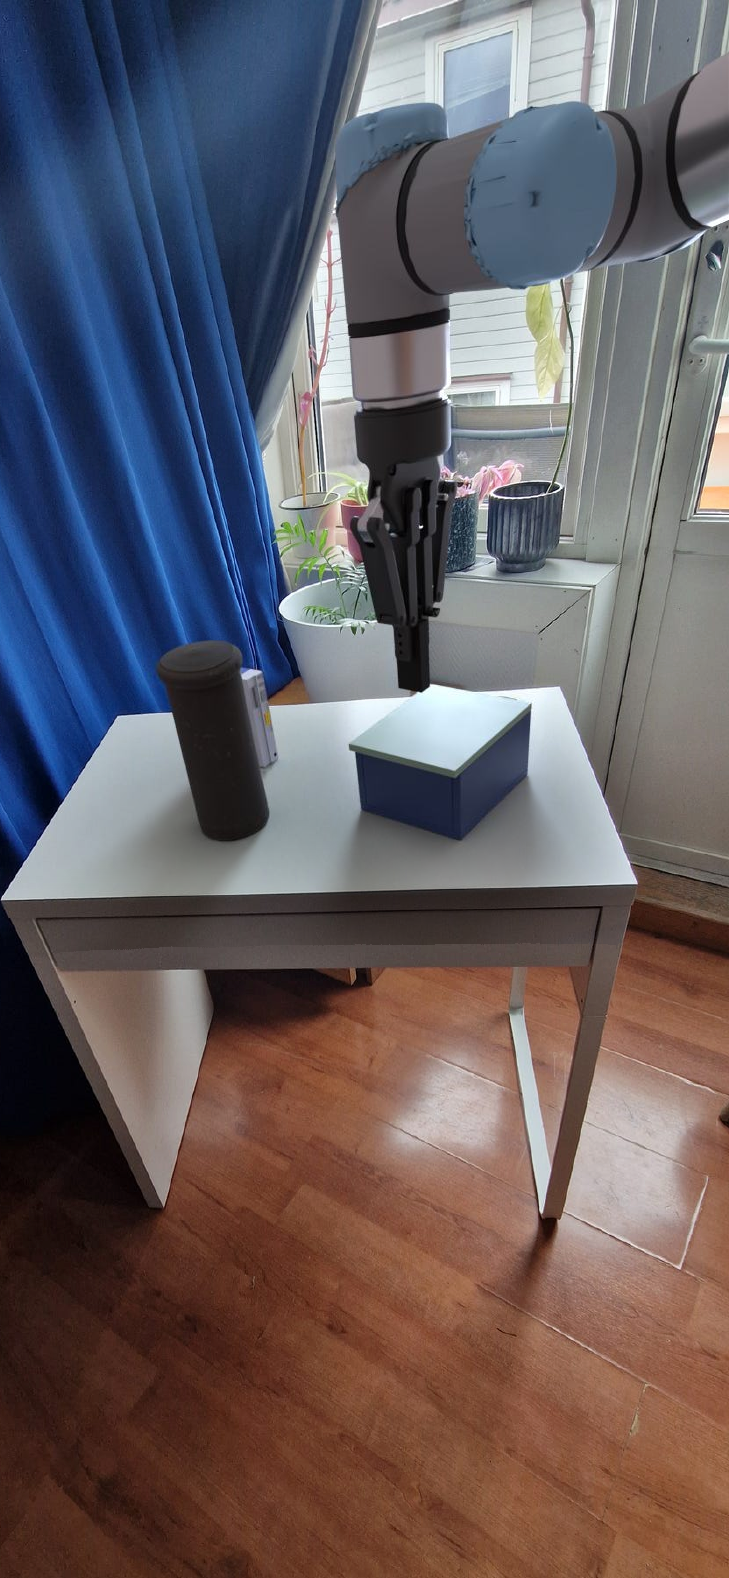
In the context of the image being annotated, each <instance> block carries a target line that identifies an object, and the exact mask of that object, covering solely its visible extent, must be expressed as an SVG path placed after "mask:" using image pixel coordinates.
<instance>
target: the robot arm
mask: <svg viewBox="0 0 729 1578" xmlns="http://www.w3.org/2000/svg"><path fill="white" fill-rule="evenodd" d="M448 121H449V120H448V116H447V112H446V110H445V108H443V106H442V105H440V104H438V103H436V102H414V103H407V104H401V105H395V106H391V107H390V106H389V107H385V108H382V109H380V110H378V111H374V112H372V113H371V112H369V113H365V114H361V115H359V116H356V117H354V118H352V119H350V120H349V121H347V122H346V123H345V124H344V125H343V126H342V127H341V128H340V130H339V132H338V134H337V137H336V140H335V145H334V155H335V183H336V184H335V186H336V200H335V207H334V211H335V218H336V220H337V227H338V238H339V239H338V240H339V248H340V249H339V251H340V260H341V262H340V263H341V271H342V282H343V283H342V284H343V293H344V294H343V295H344V305H345V318H346V325H347V336H348V345H349V359H350V373H351V374H350V375H351V389H352V398H353V399H354V400H355V401H357V402H359V403H360V405H361V406H359V407H357V409H356V410H355V413H354V414H353V421H354V422H353V423H354V436H355V447H356V457H357V459H358V461H359V463H361V464H364V465H365V466H366V468H367V469H368V471H369V472H368V474H369V475H368V476H369V477H368V483H367V491H366V496H367V497H366V498H367V501H368V504H367V506H366V508H365V510H364V512H363V514H362V515H361V516H358V515H357V516H356V515H354V516H353V517H351V518H350V521H349V528H350V529H349V530H350V532H351V534H352V535H353V537H354V539H355V541H356V543H357V544H358V546H359V551H360V555H361V559H362V563H363V568H364V571H365V577H366V582H367V584H368V589H369V594H370V598H371V602H372V606H373V610H374V616H375V619H376V622H377V624H380V625H388V626H391V627H392V629H393V644H394V656H395V657H394V658H395V659H396V674H397V688H398V689H399V690H406V691H412V692H415V693H418V692H420V693H422V692H424V691H425V690H426V689H428V688H429V687H430V684H431V675H430V673H431V672H430V669H431V668H430V618H438V617H439V615H440V613H441V607H434V605H435V603H441V602H442V600H443V598H444V592H445V591H444V590H445V581H446V572H447V571H446V570H447V562H448V552H449V551H448V550H449V542H450V532H451V522H452V512H453V508H454V504H455V501H456V497H457V493H458V482H457V480H448V479H447V480H445V479H444V478H443V477H442V467H441V464H440V460H439V457H440V456H442V455H444V454H445V453H447V452H448V451H449V449H450V448H451V444H452V415H451V414H452V409H451V408H452V405H451V404H452V403H451V402H452V401H451V399H449V396H447V395H446V394H444V390H446V389H447V388H449V387H450V385H451V383H452V363H451V361H452V359H451V309H450V298H451V297H450V295H453V294H457V293H468V292H470V293H471V292H481V291H483V292H484V291H492V290H501V289H509V290H515V291H519V290H520V291H522V290H523V291H524V290H526V289H528V288H529V287H537V286H543V285H547V284H549V283H551V282H554V281H559V280H562V279H566V278H568V277H570V276H571V275H574V274H579V273H582V272H583V273H584V272H588V271H592V270H594V269H599V268H605V267H609V266H615V265H621V264H626V263H632V262H638V263H646V262H647V263H648V262H652V261H655V260H657V259H660V258H663V257H666V256H670V255H671V254H673V253H676V252H677V251H679V250H683V249H685V248H687V247H689V246H690V245H692V244H694V242H695V241H697V240H698V239H699V238H701V236H703V235H704V234H705V233H706V231H707V230H709V229H711V228H713V227H715V226H717V225H719V224H722V223H724V222H726V221H729V51H728V52H726V53H724V54H722V55H721V56H719V57H717V58H716V59H715V60H713V61H711V62H710V63H708V64H706V65H705V66H704V67H703V68H702V69H701V70H699V71H698V72H696V73H694V74H692V75H690V76H688V77H687V78H685V79H683V80H682V81H680V82H678V83H677V84H675V85H674V86H672V87H670V88H668V89H667V90H665V91H663V92H662V93H660V94H658V95H657V96H656V97H654V98H652V99H650V100H648V101H646V102H644V103H642V104H640V105H637V106H635V107H627V108H617V109H607V110H605V109H603V110H597V111H595V109H594V108H592V107H591V105H590V104H589V103H586V102H582V101H576V100H571V101H565V102H560V103H553V104H548V105H544V106H533V105H530V106H528V107H527V108H523V109H520V110H518V111H515V113H514V114H513V115H512V116H510V117H507V118H505V119H501V120H499V121H496V122H493V123H490V124H488V125H484V126H482V127H479V128H476V129H473V130H470V131H467V132H464V133H462V134H459V135H457V136H452V137H449V122H448Z"/></svg>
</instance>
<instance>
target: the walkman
mask: <svg viewBox="0 0 729 1578" xmlns="http://www.w3.org/2000/svg"><path fill="white" fill-rule="evenodd" d="M240 671H241V675H242V681H243V686H244V692H245V697H246V703H247V707H248V712H249V717H250V722H251V727H252V732H253V737H254V742H255V746H256V751H257V756H258V761H259V766H260V768H266V767H267V766H268V765H270V764H273V763H274V762H276V761H277V760H278V759H279V755H278V749H277V743H276V738H275V732H274V726H273V721H272V715H271V710H270V704H269V701H268V696H267V690H266V685H265V679H264V674H263V671H262V670H259V669H253V668H252V669H251V668H247V667H242V666H241V669H240Z"/></svg>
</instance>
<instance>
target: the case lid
mask: <svg viewBox="0 0 729 1578" xmlns="http://www.w3.org/2000/svg"><path fill="white" fill-rule="evenodd" d="M532 706H533V703H532V702H528V701H524V700H520V699H519V700H518V699H513V698H508V697H502V696H497V695H492V694H487V693H481V692H476V691H470V690H466V689H460V688H455V687H450V686H444V685H438V684H433V683H430V687H429V688H428V689H426V690H425V691H424V692H422V693H420V692H415V694H413V695H412V696H411V697H409V698H408V699H406V700H404V702H403V703H402V704H400V705H399V706H397V707H396V708H395V709H393V710H391V712H389V713H387V714H386V715H385V716H384V717H383V718H381V719H380V720H378V721H377V722H375V723H374V724H373V725H372V726H370V727H369V728H367V729H366V730H365V731H363V733H361V734H360V735H358V736H357V737H355V738H354V739H353V740H352V741H350V742H349V743H348V750H349V751H350V752H354V753H355V752H358V753H361V754H365V755H369V756H373V757H377V758H381V759H384V760H388V761H392V762H396V763H400V764H403V765H407V766H411V767H415V768H419V769H422V770H426V771H430V772H434V773H438V774H441V775H445V776H449V777H453V778H456V777H457V776H458V775H459V774H460V773H461V772H463V771H464V770H465V769H466V768H467V767H468V766H469V765H470V764H471V763H473V762H474V761H475V760H476V759H477V758H478V757H479V756H480V755H481V754H483V753H484V752H485V751H486V750H487V749H488V748H489V747H490V746H491V745H493V744H494V743H495V742H496V741H497V740H498V739H499V738H500V737H502V736H503V735H504V734H505V733H506V732H507V731H508V730H509V729H510V728H512V727H513V726H514V725H515V724H516V723H517V722H518V721H519V720H520V719H522V718H523V717H524V716H525V715H526V714H527V713H528V712H529V711H530V710H531V711H532V710H533V709H532V708H533V707H532Z"/></svg>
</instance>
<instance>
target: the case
mask: <svg viewBox="0 0 729 1578" xmlns="http://www.w3.org/2000/svg"><path fill="white" fill-rule="evenodd" d="M531 721H532V709H531V710H530V711H529V712H528V713H527V714H526V715H525V716H524V717H523V718H522V719H520V720H519V721H518V722H517V723H516V724H515V725H514V726H513V727H512V728H510V729H509V730H508V731H507V732H506V733H505V734H504V735H503V736H502V737H500V738H499V739H498V740H497V741H496V742H495V743H494V744H493V745H491V746H490V747H489V748H488V749H487V750H486V751H485V752H484V753H483V754H481V755H480V756H479V757H478V758H477V759H476V760H475V761H474V762H473V763H471V764H470V765H469V766H468V767H467V768H466V769H465V770H464V771H463V772H461V773H460V774H459V775H458V776H457V777H456V778H453V777H449V776H445V775H441V774H438V773H434V772H430V771H426V770H422V769H419V768H415V767H411V766H407V765H403V764H400V763H396V762H392V761H388V760H384V759H381V758H377V757H373V756H369V755H365V754H361V753H358V752H354V756H355V764H356V765H355V767H356V776H357V785H358V794H359V803H360V810H362V811H365V812H368V813H372V814H374V815H377V816H381V817H384V818H386V819H387V818H388V819H390V820H394V821H396V822H399V823H403V824H407V825H410V826H412V827H416V828H419V829H422V830H425V831H429V832H431V833H435V834H438V835H442V836H444V837H447V838H451V839H453V840H457V841H462V840H463V839H464V838H465V837H466V836H467V835H468V834H469V833H470V832H471V831H472V830H473V829H474V828H475V827H476V826H477V825H478V824H479V823H480V822H481V821H482V820H483V819H484V818H485V817H486V816H487V815H488V814H489V813H490V812H491V811H492V810H493V809H494V808H495V807H496V806H497V805H498V804H499V803H500V802H501V801H502V800H503V799H504V798H505V797H507V795H508V794H509V793H510V792H512V790H513V789H514V788H516V786H518V784H519V783H520V782H521V781H523V780H524V779H525V778H526V777H527V776H528V774H529V756H530V755H529V754H530V737H531Z"/></svg>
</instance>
